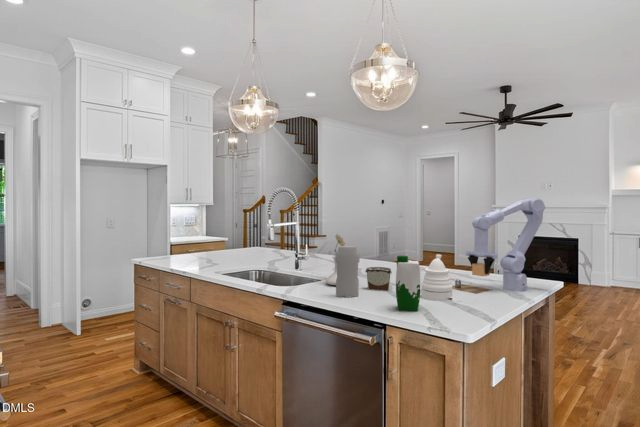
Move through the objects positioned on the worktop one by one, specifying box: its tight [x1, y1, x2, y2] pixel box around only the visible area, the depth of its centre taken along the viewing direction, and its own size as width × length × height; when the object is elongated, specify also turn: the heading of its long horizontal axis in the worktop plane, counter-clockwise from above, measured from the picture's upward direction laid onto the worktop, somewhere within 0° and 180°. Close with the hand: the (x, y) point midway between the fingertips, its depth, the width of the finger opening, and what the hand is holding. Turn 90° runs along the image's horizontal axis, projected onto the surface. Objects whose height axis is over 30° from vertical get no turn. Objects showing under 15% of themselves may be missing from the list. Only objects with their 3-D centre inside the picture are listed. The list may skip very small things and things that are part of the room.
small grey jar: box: [454, 278, 462, 288], centre depth 186 cm, size 3×3×4 cm
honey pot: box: [420, 254, 453, 302], centre depth 172 cm, size 13×13×18 cm
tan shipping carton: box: [471, 262, 491, 277], centre depth 182 cm, size 5×5×5 cm
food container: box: [364, 266, 393, 292], centre depth 188 cm, size 12×6×10 cm, turn 71°
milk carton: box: [395, 255, 421, 312], centre depth 153 cm, size 9×9×20 cm
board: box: [452, 283, 494, 295], centre depth 184 cm, size 16×14×1 cm
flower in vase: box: [325, 233, 346, 286], centre depth 198 cm, size 13×11×25 cm
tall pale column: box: [334, 245, 361, 298], centre depth 173 cm, size 11×4×22 cm, turn 95°
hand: (480, 272), depth 183 cm, fingers closed on tan shipping carton, 5 cm apart
